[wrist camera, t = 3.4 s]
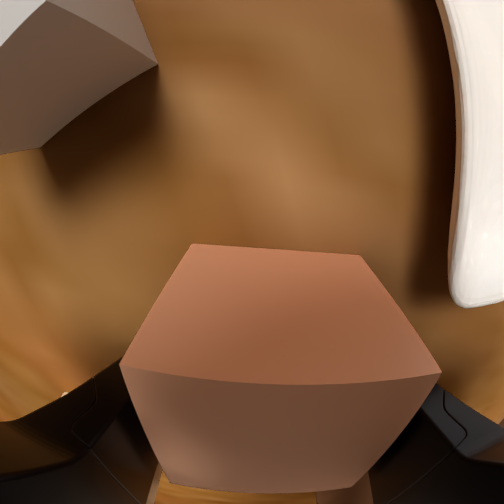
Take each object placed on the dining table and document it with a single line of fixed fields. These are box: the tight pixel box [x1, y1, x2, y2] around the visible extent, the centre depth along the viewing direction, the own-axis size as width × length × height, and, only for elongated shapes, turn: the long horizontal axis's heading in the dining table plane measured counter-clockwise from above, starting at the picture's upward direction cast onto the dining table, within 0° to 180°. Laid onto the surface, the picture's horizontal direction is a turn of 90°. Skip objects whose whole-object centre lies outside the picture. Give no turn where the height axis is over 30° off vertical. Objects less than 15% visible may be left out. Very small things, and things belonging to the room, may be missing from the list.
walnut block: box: [316, 471, 373, 504], centre depth 10 cm, size 5×5×5 cm
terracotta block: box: [119, 244, 442, 493], centre depth 7 cm, size 5×5×5 cm
